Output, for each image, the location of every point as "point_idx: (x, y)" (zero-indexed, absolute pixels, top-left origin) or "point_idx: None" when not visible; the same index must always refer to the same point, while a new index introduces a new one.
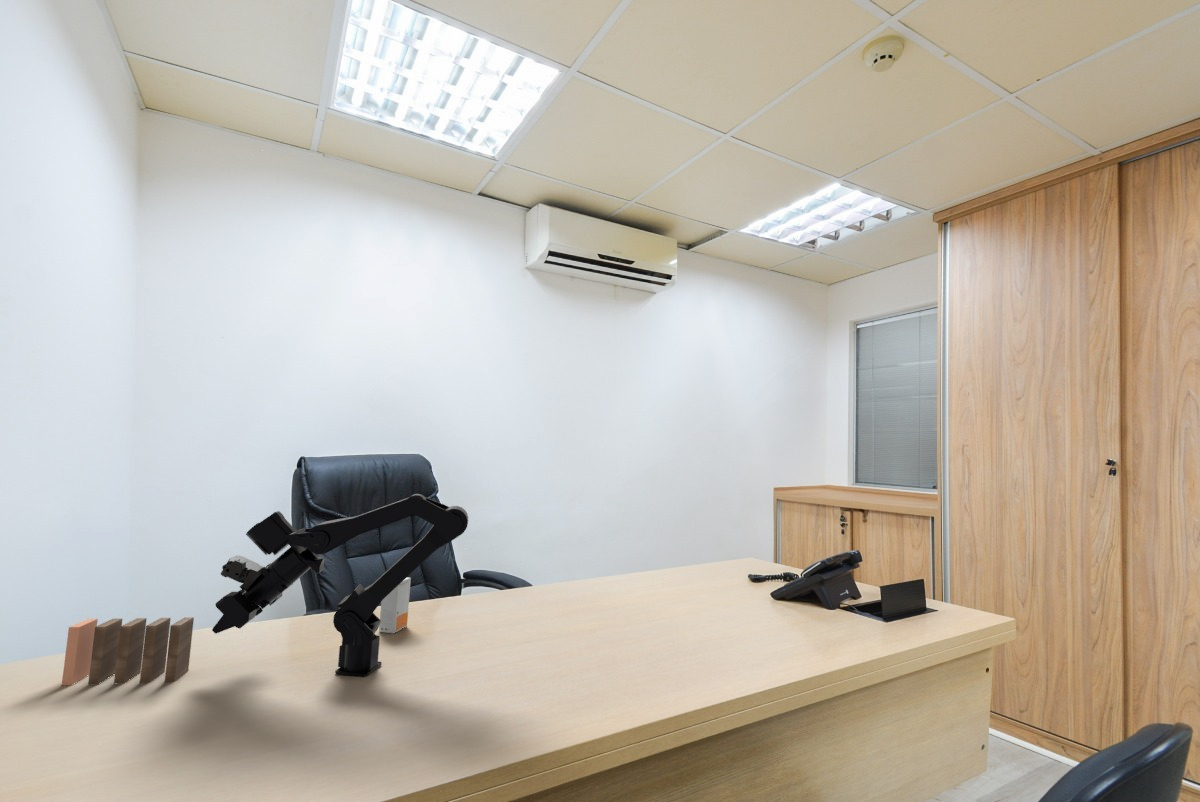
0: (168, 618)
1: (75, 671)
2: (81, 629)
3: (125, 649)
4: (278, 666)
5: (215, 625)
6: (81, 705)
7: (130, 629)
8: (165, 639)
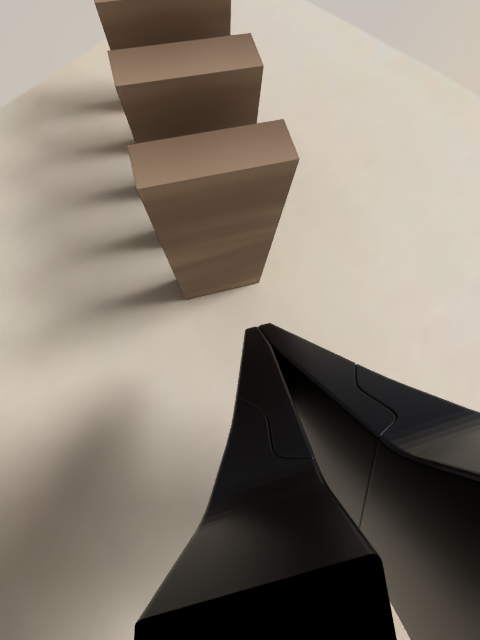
0: (247, 65)
1: None
2: None
3: None
4: None
5: (244, 346)
6: (31, 204)
7: (104, 24)
8: None
